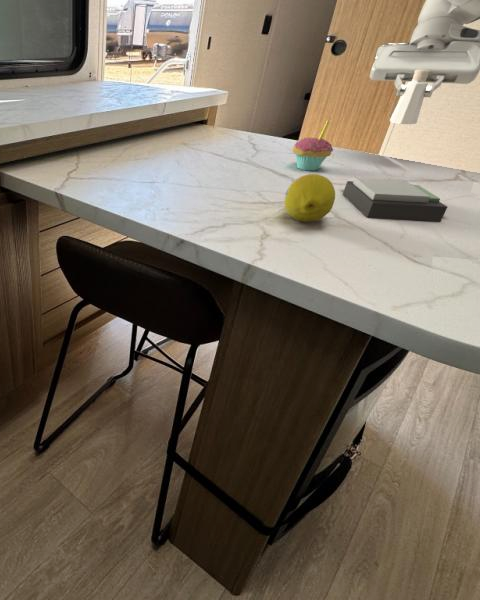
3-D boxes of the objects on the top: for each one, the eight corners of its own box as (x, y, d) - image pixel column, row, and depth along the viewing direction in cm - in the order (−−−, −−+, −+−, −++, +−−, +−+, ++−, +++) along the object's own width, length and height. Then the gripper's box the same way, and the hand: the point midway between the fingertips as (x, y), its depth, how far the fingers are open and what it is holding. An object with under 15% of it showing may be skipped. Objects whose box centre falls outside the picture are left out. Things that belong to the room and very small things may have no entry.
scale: (405, 197, 84) (414, 178, 82) (440, 221, 74) (451, 200, 71) (342, 194, 86) (349, 175, 84) (367, 217, 75) (375, 196, 73)
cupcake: (333, 169, 101) (350, 116, 95) (313, 175, 97) (330, 120, 91) (300, 161, 107) (314, 111, 101) (280, 166, 103) (294, 115, 97)
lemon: (285, 207, 80) (297, 165, 76) (330, 215, 76) (345, 171, 72) (272, 225, 72) (284, 180, 68) (321, 235, 69) (337, 188, 64)
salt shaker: (418, 121, 99) (439, 69, 93) (414, 125, 95) (436, 70, 89) (391, 119, 102) (410, 68, 96) (387, 122, 98) (406, 69, 92)
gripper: (382, 32, 98) (363, 82, 97) (494, 31, 89) (475, 87, 87) (376, 53, 104) (359, 101, 103) (481, 54, 94) (463, 107, 93)
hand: (413, 94), depth 95 cm, fingers closed on salt shaker, 4 cm apart
